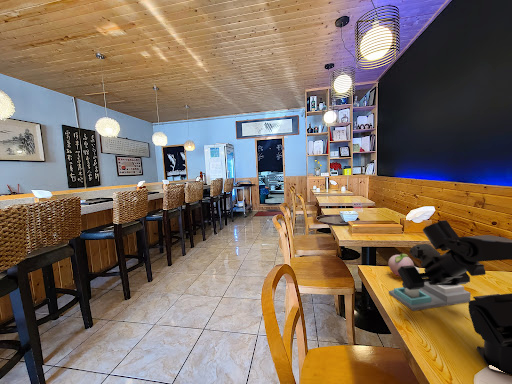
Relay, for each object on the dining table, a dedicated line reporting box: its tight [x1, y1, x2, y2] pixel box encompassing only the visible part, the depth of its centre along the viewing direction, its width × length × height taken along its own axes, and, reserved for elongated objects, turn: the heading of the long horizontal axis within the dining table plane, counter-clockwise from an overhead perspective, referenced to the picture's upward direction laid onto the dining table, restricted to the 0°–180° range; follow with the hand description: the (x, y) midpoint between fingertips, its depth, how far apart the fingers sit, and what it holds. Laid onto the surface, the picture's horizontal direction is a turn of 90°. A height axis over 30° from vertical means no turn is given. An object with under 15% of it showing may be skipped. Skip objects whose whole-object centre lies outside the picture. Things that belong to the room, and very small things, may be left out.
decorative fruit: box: [387, 252, 415, 278], centre depth 87 cm, size 9×8×10 cm
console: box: [388, 282, 471, 312], centre depth 73 cm, size 21×10×4 cm, turn 99°
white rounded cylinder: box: [405, 265, 420, 298], centre depth 72 cm, size 5×4×10 cm
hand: (416, 284), depth 70 cm, fingers open, 9 cm apart
